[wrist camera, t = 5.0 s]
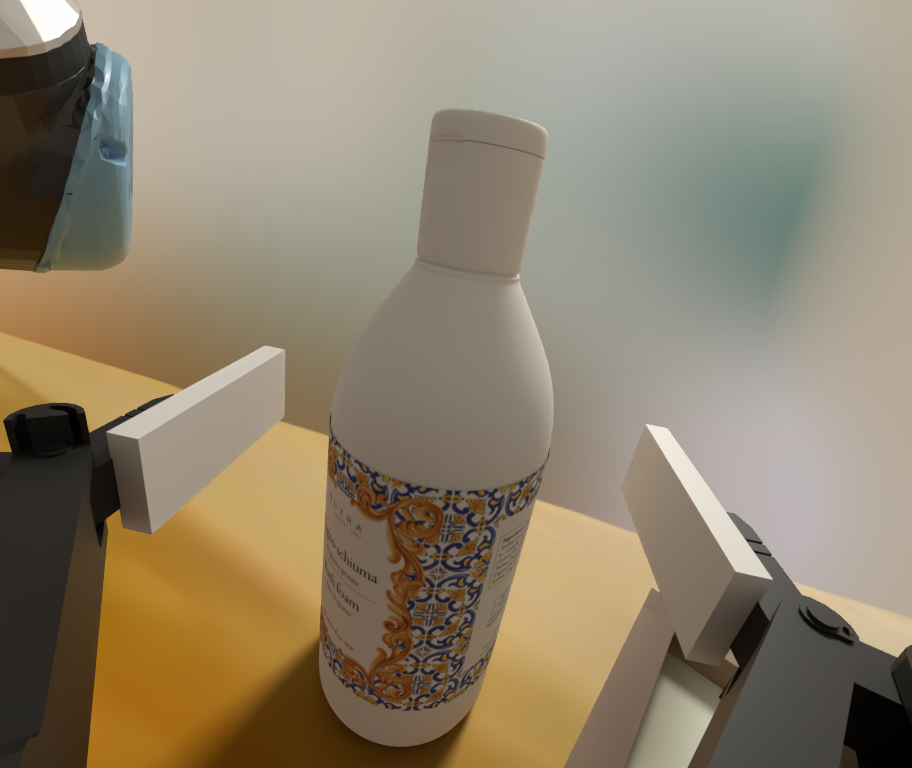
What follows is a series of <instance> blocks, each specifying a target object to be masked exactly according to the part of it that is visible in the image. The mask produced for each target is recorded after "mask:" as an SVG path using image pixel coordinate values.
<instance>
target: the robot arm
mask: <svg viewBox="0 0 912 768" xmlns="http://www.w3.org/2000/svg"><path fill="white" fill-rule="evenodd" d="M132 197H133V93H132V81H131V67H130V65H129V63H128V61H127V60H126V59H125V58H124V57H123V56H121V55H120V54H118V53H115V52H113V51H111V50H110V49H109V48H108V47H106V46H103V44H100V43H96V44H92V45H89V43H88V41H87V37H86V32H85V28H84V23H83V19H82V13H81V10H80V7H79V4H78V1H77V0H0V269H10V270H25V271H33V272H37V273H46V272H48V271H50V270H77V271H78V270H79V271H83V270H84V271H101V270H106V269H109V268H112V267H114V266H116V265H118V264H120V263H121V262H122V261H123V260H124V259H125V258H126V256H127V255H128V253H129V250H130V242H131V228H132V199H133V198H132ZM284 401H285V350H284V349H279V348H274V347H269V346H263V347H262V348H260V349H258V350H256V351H254V352H252V353H251V354H249V355H247V356H245V357H244V358H241V359H240V360H238V361H236V362H234V363H232V364H230V365H229V366H227V367H225V368H223V369H221V370H219V371H217V372H216V373H214V374H212V375H210V376H208V377H206V378H205V379H203V380H201V381H199V382H197V383H195V384H193V385H192V386H190V387H188V388H186V389H184V390H182V391H181V392H179V393H177V394H175V395H174V394H171V395H168V396H164V397H161V398H157V399H154V400H151V401H149V402H148V403H146V404H144V405H142V406H140V407H138V408H137V410H135V409H134V410H132V411H130V412H128V413H127V414H125V416H121V417H119V418H117V419H115V420H113V421H111V422H109V423H107V424H106V425H104V426H102V427H100V428H98V429H96V430H94V431H92V432H90V433H89V431H88V426H87V421H86V415H85V412H84V409H83V408H82V407H80V406H78V405H75V404H69V403H48V404H41V405H35V406H31V407H28V408H24V409H21V410H18V411H16V412H14V413H12V414H10V415H9V416H8V417H7V418H5V419H4V420H3V422H4V425H5V429H6V432H7V436H8V439H9V443H10V447H11V450H12V452H0V768H86V767H87V756H88V745H89V734H90V723H91V712H92V701H93V690H94V679H95V668H96V657H97V646H98V635H99V623H100V612H101V601H102V590H103V579H104V568H105V557H106V546H107V535H108V528H107V523H106V519H107V518H108V517H109V516H110V515H112V514H113V513H114V512H116V511H117V510H118V509H120V514H121V520H122V525H123V528H126V529H131V530H135V531H139V532H143V533H148V534H153V533H154V532H155V531H156V530H158V529H159V528H160V527H161V526H162V525H163V524H164V523H165V522H166V521H168V520H169V519H170V518H171V517H172V516H173V515H174V514H175V513H177V512H178V511H179V510H180V509H181V508H182V507H183V506H184V505H185V504H187V503H188V502H189V501H190V500H191V499H192V498H193V497H194V496H196V495H197V494H198V493H199V492H200V491H201V490H202V489H203V488H204V487H206V486H207V485H208V484H209V483H210V482H211V481H212V480H213V479H215V478H216V477H217V476H218V475H219V474H220V473H221V472H222V471H224V470H225V469H226V468H227V467H228V466H229V465H230V464H231V463H232V462H234V461H235V460H236V459H237V458H238V457H239V456H240V455H241V454H243V453H244V452H245V451H246V450H247V449H248V448H249V447H250V446H251V445H253V444H254V443H255V442H256V441H257V440H258V439H259V438H260V437H262V436H263V435H264V434H265V433H266V432H267V431H268V430H269V429H270V428H272V427H273V426H274V425H275V424H276V423H277V422H278V421H279V420H281V419H282V418H283V417H284V405H285V403H284ZM621 491H622V493H623V496H624V498H625V501H626V503H627V506H628V509H629V511H630V514H631V517H632V519H633V522H634V525H635V527H636V530H637V533H638V535H639V538H640V540H641V543H642V546H643V548H644V551H645V554H646V556H647V559H648V562H649V564H650V567H651V569H652V572H653V575H654V577H655V580H656V583H657V585H658V588H659V590H660V593H661V596H662V598H663V601H664V604H665V606H666V609H667V612H668V614H669V617H670V619H671V622H672V625H673V627H674V630H675V633H676V635H677V638H678V640H679V643H680V646H681V648H682V651H683V654H684V656H685V659H687V660H691V661H696V662H700V663H704V664H709V665H713V666H717V667H719V666H720V665H721V663H722V661H723V660H724V658H725V657H726V655H727V653H728V652H729V650H730V649H731V651H732V653H733V655H734V657H735V659H736V661H737V663H738V665H739V667H738V668H737V670H736V671H735V673H734V674H733V676H732V677H731V679H730V680H729V682H728V684H727V685H726V687H725V688H724V690H723V691H722V693H721V694H720V696H719V697H718V698H719V699H721V700H720V702H719V704H718V706H717V708H716V710H715V712H714V715H713V717H712V719H711V721H710V723H709V725H708V727H707V729H706V731H705V733H704V735H703V737H702V739H701V741H700V743H699V745H698V747H697V749H696V751H695V753H694V755H693V757H692V759H691V761H690V764H689V766H688V768H839V765H840V759H841V757H842V763H843V768H912V645H910V646H908V647H907V648H906V649H905V650H904V651H903V652H902V653H901V654H900V656H899V657H898V658H897V657H895V656H892V655H890V654H888V653H885V652H883V651H881V650H879V649H876V648H874V647H872V646H870V645H867V644H865V643H863V642H860V641H859V637H858V635H857V634H856V632H855V631H854V630H853V628H852V627H851V625H850V624H848V623H847V622H846V621H845V620H844V619H843V618H842V617H841V616H840V615H839V614H837V613H836V612H835V611H833V610H832V609H830V608H829V607H827V606H826V605H824V604H822V603H820V602H818V601H816V600H814V599H812V598H810V597H807V596H803V595H801V593H800V592H799V590H798V589H797V588H796V586H795V585H794V584H793V582H792V581H791V580H790V578H789V577H788V576H787V574H786V573H785V572H784V571H783V569H782V568H781V566H780V565H779V564H778V562H777V561H776V560H775V558H774V557H771V553H770V552H769V550H768V549H767V548H766V546H765V545H762V541H761V540H760V538H759V537H758V535H757V534H756V533H755V532H754V530H753V529H752V528H751V527H750V526H749V525H748V524H746V523H745V522H744V521H743V520H742V519H741V518H739V517H738V516H737V515H736V514H734V513H729V512H726V511H725V510H724V509H723V507H722V506H721V504H720V503H719V501H718V500H717V499H716V497H715V496H714V494H713V493H712V492H711V490H710V489H709V487H708V486H707V484H706V483H705V481H704V480H703V479H702V477H701V476H700V474H699V473H698V472H697V470H696V469H695V467H694V466H693V464H692V463H691V461H690V460H689V459H688V457H687V456H686V454H685V453H684V451H683V450H682V449H681V447H680V446H679V444H678V443H677V441H676V440H675V438H674V437H673V436H672V434H671V433H670V431H669V430H668V429H667V428H663V427H657V426H653V425H647V424H645V427H644V429H643V432H642V434H641V437H640V440H639V442H638V445H637V447H636V450H635V452H634V455H633V458H632V460H631V463H630V465H629V468H628V471H627V473H626V476H625V478H624V481H623V483H622V486H621Z"/></svg>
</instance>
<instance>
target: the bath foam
mask: <svg viewBox="0 0 912 768" xmlns="http://www.w3.org/2000/svg"><path fill="white" fill-rule="evenodd" d="M547 147H548V133H547V131H546V130H545V129H544V128H543V127H541V126H539V125H537V124H535V123H533V122H530V121H527V120H524V119H521V118H517V117H513V116H509V115H505V114H500V113H494V112H488V111H482V110H474V109H460V108H454V109H453V108H451V109H444V110H440V111H438V112H437V113H436V114H435V115H434V117H433V120H432V124H431V132H430V141H429V149H428V157H427V165H426V174H425V183H424V191H423V200H422V208H421V217H420V226H419V235H418V247H417V254H418V256H419V257H418V258H416V260H415V264H414V265H413V266H412V268H411V269H410V270H409V271H408V272H407V274H406V275H405V276H404V277H403V278H402V280H401V281H400V282H399V283H398V285H397V286H396V287H395V288H394V289H393V291H392V292H391V293H390V294H389V296H388V297H387V298H386V299H385V301H384V302H383V303H382V304H381V305H380V307H379V308H378V309H377V310H376V312H375V313H374V314H373V316H372V317H371V318H370V320H369V321H368V322H367V324H366V325H365V327H364V328H363V330H362V331H361V333H360V334H359V335H358V337H357V339H356V340H355V342H354V344H353V346H352V347H351V349H350V351H349V354H348V356H347V358H346V360H345V362H344V365H343V368H342V370H341V373H340V376H339V379H338V383H337V386H336V391H335V395H334V400H333V406H332V412H331V416H330V429H329V449H328V470H327V490H326V511H325V532H324V552H323V573H322V593H321V614H320V644H319V672H320V679H321V684H322V688H323V691H324V693H325V696H326V698H327V701H328V703H329V704H330V706H331V708H332V709H333V711H334V712H335V714H336V715H337V716H338V718H339V719H340V720H341V721H342V722H343V723H344V724H345V725H346V726H347V727H348V728H350V729H351V730H352V731H353V732H355V733H356V734H358V735H360V736H361V737H363V738H365V739H367V740H370V741H372V742H375V743H378V744H382V745H387V746H395V747H407V746H415V745H420V744H424V743H427V742H430V741H432V740H435V739H437V738H439V737H440V736H442V735H444V734H445V733H447V732H448V731H449V730H451V729H452V728H453V727H454V726H455V725H456V724H458V723H459V722H460V721H461V720H462V719H463V718H464V717H465V715H466V714H467V713H468V712H469V711H470V709H471V708H472V706H473V705H474V703H475V701H476V699H477V697H478V695H479V692H480V690H481V687H482V684H483V681H484V678H485V674H486V671H487V667H488V664H489V660H490V658H491V655H492V651H493V648H494V644H495V641H496V637H497V634H498V630H499V627H500V623H501V620H502V616H503V613H504V609H505V606H506V602H507V599H508V595H509V592H510V588H511V585H512V581H513V578H514V574H515V571H516V567H517V564H518V560H519V557H520V553H521V550H522V546H523V543H524V539H525V536H526V532H527V529H528V525H529V522H530V518H531V515H532V511H533V508H534V504H535V501H536V497H537V494H538V490H539V487H540V483H541V480H542V476H543V473H544V469H545V466H546V462H547V459H548V455H549V449H550V448H549V447H550V441H551V436H552V428H553V427H552V426H553V411H554V407H553V389H552V381H551V376H550V371H549V366H548V362H547V359H546V355H545V352H544V349H543V346H542V343H541V339H540V337H539V334H538V331H537V328H536V325H535V323H534V320H533V317H532V315H531V312H530V309H529V307H528V304H527V301H526V299H525V296H524V294H523V291H522V288H521V285H520V282H519V279H520V277H519V275H518V274H517V273H519V271H520V269H521V266H522V262H523V258H524V254H525V250H526V245H527V241H528V236H529V232H530V227H531V222H532V218H533V213H534V208H535V204H536V199H537V194H538V190H539V185H540V180H541V176H542V171H543V166H544V162H545V161H544V160H545V156H546V152H547Z"/></svg>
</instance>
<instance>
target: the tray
mask: <svg viewBox="0 0 912 768" xmlns="http://www.w3.org/2000/svg"><path fill="white" fill-rule="evenodd" d="M738 667H739V665H738V663H737V661H736V659H735V657H734V655H733V653H732V651H731V649H730V650H729V652H728V653H727V655H726V657H725V658H724V660H723V661H722V663H721V665H720V666H719V667H717V666H713V665H709V664H704V663H700V662H696V661H691V660H687V659H685V656H684V654H683V651H682V648H681V646H680V643H679V640H678V638H677V635H676V633H675V630H674V627H673V625H672V622H671V619H670V617H669V614H668V612H667V609H666V606H665V604H664V601H663V598H662V596H661V593H659V592H658V591H656V590H655V589H653V588H651V590H650V592H649V594H648V596H647V598H646V601H645V603H644V605H643V607H642V609H641V611H640V613H639V615H638V617H637V619H636V621H635V623H634V625H633V627H632V629H631V631H630V633H629V635H628V637H627V639H626V641H625V644H624V646H623V648H622V650H621V652H620V654H619V656H618V658H617V660H616V662H615V664H614V666H613V668H612V670H611V672H610V674H609V676H608V678H607V680H606V682H605V684H604V686H603V689H602V691H601V693H600V695H599V697H598V699H597V701H596V703H595V705H594V707H593V709H592V711H591V713H590V715H589V717H588V719H587V721H586V723H585V725H584V727H583V729H582V732H581V734H580V736H579V738H578V740H577V742H576V744H575V746H574V748H573V750H572V752H571V754H570V756H569V758H568V760H567V762H566V764H565V766H564V768H688V766H689V764H690V761H691V759H692V757H693V755H694V753H695V751H696V749H697V747H698V745H699V743H700V741H701V739H702V737H703V735H704V733H705V731H706V729H707V727H708V725H709V723H710V721H711V719H712V717H713V715H714V712H715V710H716V708H717V706H718V704H719V702H720V700H721V699H719V698H718V697H719V696H720V694H721V693H722V691H723V690H724V688H725V687H726V685H727V684H728V682H729V680H730V679H731V677H732V676H733V674H734V673H735V671H736V670H737V668H738ZM839 768H843V763H842V757H841V759H840V765H839Z"/></svg>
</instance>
